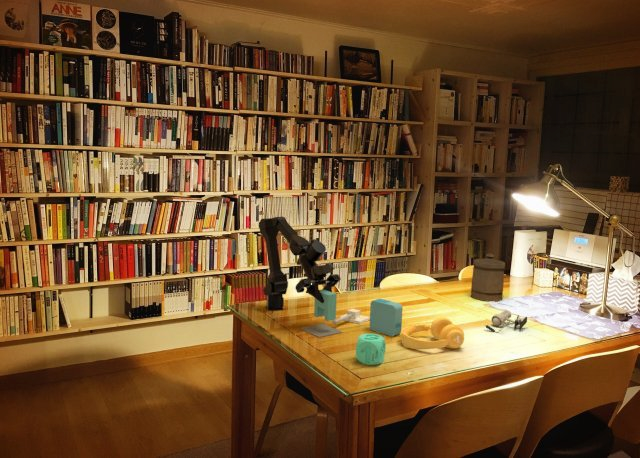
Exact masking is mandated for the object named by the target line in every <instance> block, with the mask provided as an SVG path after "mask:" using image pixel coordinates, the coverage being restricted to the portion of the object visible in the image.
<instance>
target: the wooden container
mask: <svg viewBox="0 0 640 458" xmlns="http://www.w3.org/2000/svg"><path fill="white" fill-rule="evenodd" d="M485 256H486V258H476V259H474V260H473V267H472V278H471V289H470V297H471V298H472V299H475V300H478V301H482V302H490V301H495V302H500V301H499V300H501V301H503V293H504V281H505V279H504V277H505V268H506V262H505V261H503V260H499V259H494V254H493V253H486V255H485Z"/></svg>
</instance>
